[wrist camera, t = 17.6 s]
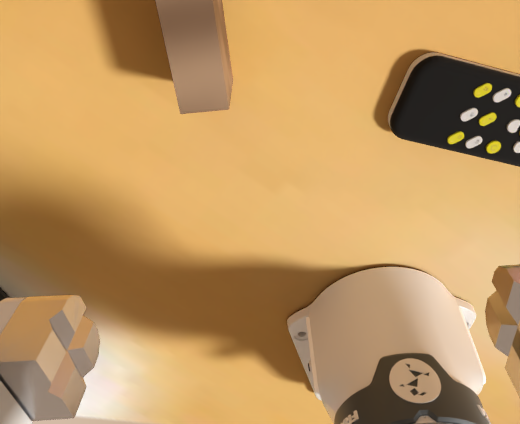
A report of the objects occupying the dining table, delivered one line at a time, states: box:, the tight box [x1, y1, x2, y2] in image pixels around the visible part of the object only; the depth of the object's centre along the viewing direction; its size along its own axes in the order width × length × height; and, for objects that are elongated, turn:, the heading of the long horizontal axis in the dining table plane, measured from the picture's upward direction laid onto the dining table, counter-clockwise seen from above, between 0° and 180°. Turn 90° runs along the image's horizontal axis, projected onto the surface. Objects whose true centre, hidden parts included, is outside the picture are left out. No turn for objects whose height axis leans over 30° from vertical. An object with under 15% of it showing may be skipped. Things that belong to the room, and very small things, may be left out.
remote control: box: [388, 52, 520, 166], centre depth 32 cm, size 6×13×2 cm, turn 76°
